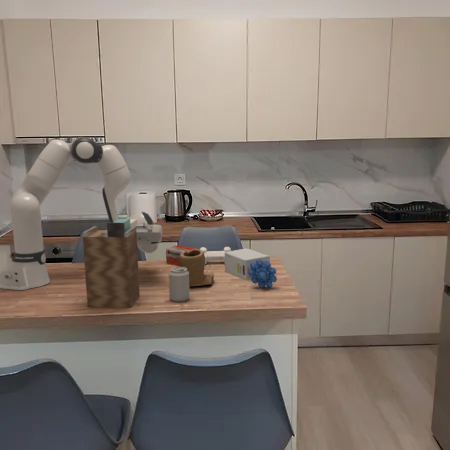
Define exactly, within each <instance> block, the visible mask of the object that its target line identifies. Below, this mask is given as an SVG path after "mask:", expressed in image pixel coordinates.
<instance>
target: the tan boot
mask: <svg viewBox="0 0 450 450" xmlns="http://www.w3.org/2000/svg"><path fill="white" fill-rule="evenodd" d="M179 261H180V267H185V268H187V271H188V272H189V287H200V286H207V285H212V284H213V282H214V277H215V276H214V275H215V274H205V272H204V271H205V265H206V264H205V255H204V253H203V251H202V250H200V248H196V249H192V250H189V251H184V252H182V253H181V254H180V256H179Z"/></svg>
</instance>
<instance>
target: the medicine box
mask: <svg viewBox="0 0 450 450" xmlns="http://www.w3.org/2000/svg"><path fill="white" fill-rule="evenodd" d="M192 249H197V248H195V247H191V246H190V247H189V246H185V245H183V246H182V245H174V246H170V247H167V248H166V249H165V250H166V251H165V257H166V259H165V260H166V264H167V265H171V266H175V267H180V261H179V256H180V254H181V253H182V252H184V251H189V250H192Z"/></svg>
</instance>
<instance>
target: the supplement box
mask: <svg viewBox="0 0 450 450" xmlns="http://www.w3.org/2000/svg"><path fill="white" fill-rule="evenodd" d="M258 259H261V260H262V261H263V263H264V262H265V261H268V262H270V263H271V256H270V255H268V254H265V253H262V252H259V251H257V250H253V249H250V248H247V247H245V248H241V249H235V250H231V251H228V252H225V263H224V272H226V273H229V274H231V275H232V276H234V277H237V278H239V279H241V280H243V281H251V277H252V276H250V275H249V274H248V270H249V269H251V268H250V263H252V262H254V263H256V260H258Z"/></svg>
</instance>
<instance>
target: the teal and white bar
mask: <svg viewBox="0 0 450 450" xmlns="http://www.w3.org/2000/svg"><path fill="white" fill-rule="evenodd" d="M113 223H124V224H125V232H126V231H128V230H129V229H131V228H132V227H134V226H137V219H126V218H119V219H118V220H117V221H115V222H113Z"/></svg>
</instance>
